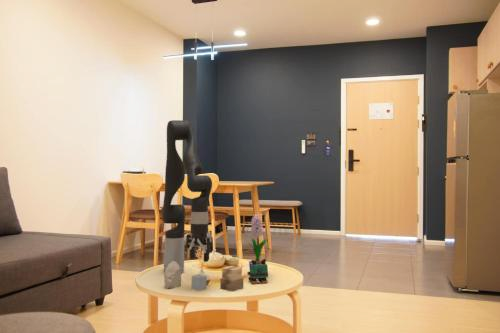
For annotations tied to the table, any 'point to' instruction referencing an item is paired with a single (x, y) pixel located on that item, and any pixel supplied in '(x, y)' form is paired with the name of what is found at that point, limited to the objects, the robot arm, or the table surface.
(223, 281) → the walnut base
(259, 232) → the hyacinth
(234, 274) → the beech block
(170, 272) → the stone
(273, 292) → the table surface
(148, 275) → the table surface
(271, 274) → the table surface
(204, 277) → the slate block
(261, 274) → the green toy vehicle
